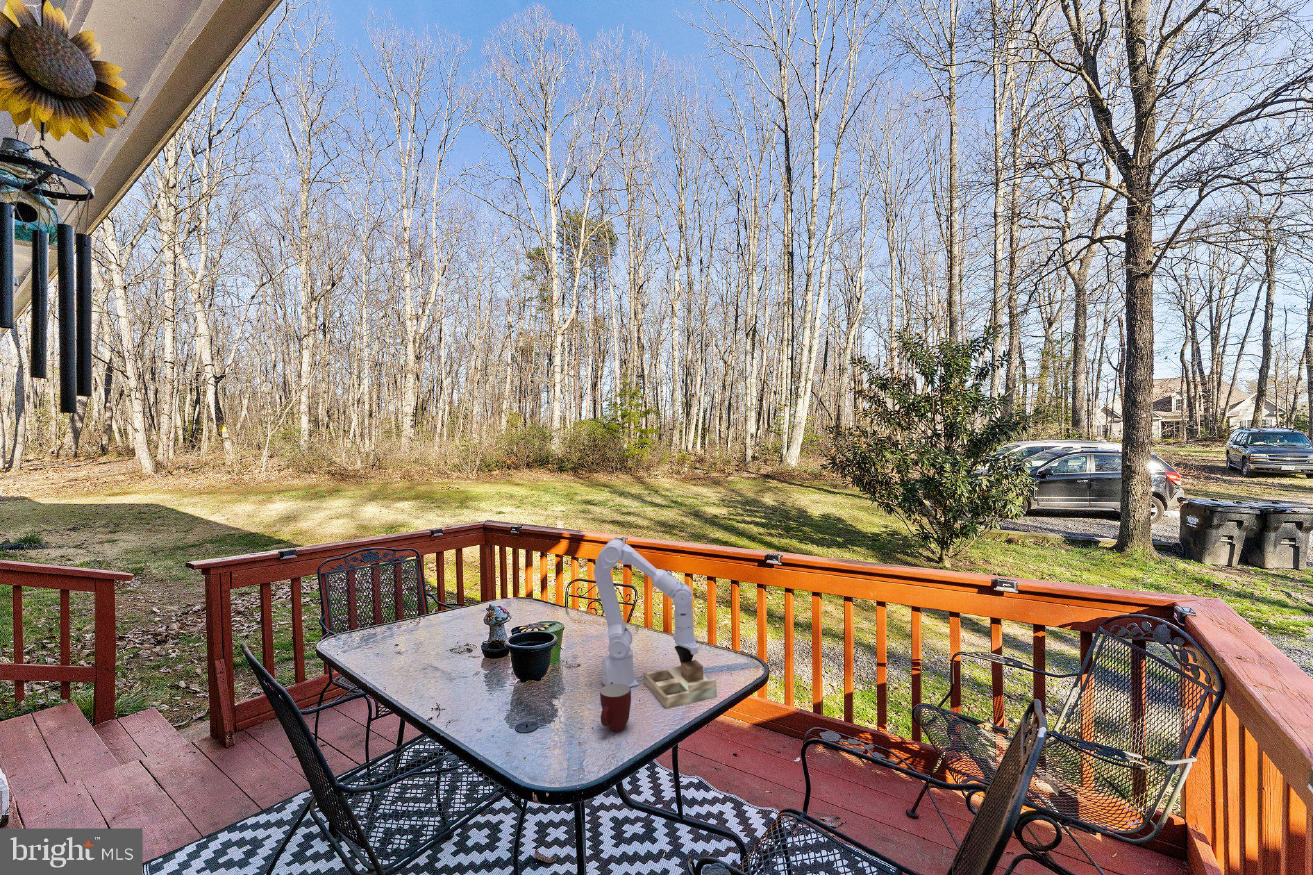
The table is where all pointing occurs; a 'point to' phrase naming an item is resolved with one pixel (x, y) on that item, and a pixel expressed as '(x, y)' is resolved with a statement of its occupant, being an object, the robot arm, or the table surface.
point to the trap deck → (678, 687)
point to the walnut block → (692, 671)
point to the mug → (615, 706)
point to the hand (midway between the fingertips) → (686, 669)
